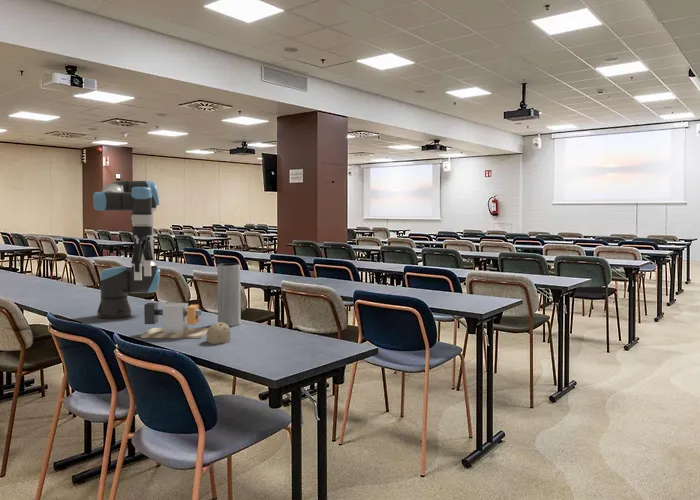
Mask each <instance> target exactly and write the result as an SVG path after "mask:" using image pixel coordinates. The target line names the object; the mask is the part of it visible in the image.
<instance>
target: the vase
mask: <svg viewBox="0 0 700 500" xmlns="http://www.w3.org/2000/svg"><path fill="white" fill-rule="evenodd" d="M216 266H217V267H216V268H217V273H216V275H217V323H219V322H224V323H226V324H227V325H228V326H229V327H235V326H239V325H241V321H242V319H241V315H242V312H241V264H240V263H234V262H233V263H232V262H231V263H227V262H226V263H225V262H224V263H218V264H217V265H216Z"/></svg>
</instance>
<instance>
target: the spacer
mask: <svg viewBox="0 0 700 500" xmlns="http://www.w3.org/2000/svg"><path fill="white" fill-rule="evenodd" d="M199 308H200V305H199V304H190V305H188V307H187V325H188V326H189V325H191V326H193V325H194V326H195V325H196V324H197V323H199V322H200V315H195V311H196V310H200V309H199Z"/></svg>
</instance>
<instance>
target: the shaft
mask: <svg viewBox="0 0 700 500" xmlns="http://www.w3.org/2000/svg"><path fill="white" fill-rule="evenodd" d="M143 306H144V311H143V313H144V325H156V324H157V323H158V322H159V316H163V308H162V309H159V305H158V302H147V303H145V304H144V305H143ZM185 315H187V310H185ZM195 315H199V316H202V310H201V309H199V310H196V311H195Z"/></svg>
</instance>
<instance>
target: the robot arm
mask: <svg viewBox="0 0 700 500" xmlns="http://www.w3.org/2000/svg"><path fill="white" fill-rule="evenodd" d="M157 187H158V186H157V184H156V182H154V181H152V180H151V181H150V180H117V181H112V182H110V183H107V184H106V185H105V186H103V188H102V190H101V191H95V192H94V193H93V196H92V200H93V209H94V210H95V211H103V212H104V211H123V212H124V211H126V212H127V211H128V212H129V211H131V217H130V220H131V224H132V225H133V226H132V227H131V231H132V232H131V234H132V235H133V236H134V238H133V249H132V255H131V256H132V258H131V261H130V262H131V264H132V265H131V268H130V269H128V267H127V266H123V265H122V266H121V265H120V266H114V267H109V268H104V269H102V270H101V271H100V277H99V281H100V302H99V305H98V309H97V311H96V317H97V318H99V319H108V320H110V319H122V318H127V317H130V316H132V309H131V306H130V303H129V300H128V294H149V293H156V292H157V291H158V289H159V284H160V276H161V268H158V264H157V263H156V262H155V261H154V260H155V258H154V257H155V256H154V252H155V251H154V249H155V246H154V212H155V211H156V210H157V206H158V207H159V205H160V200H159V192H158V188H157Z"/></svg>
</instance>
